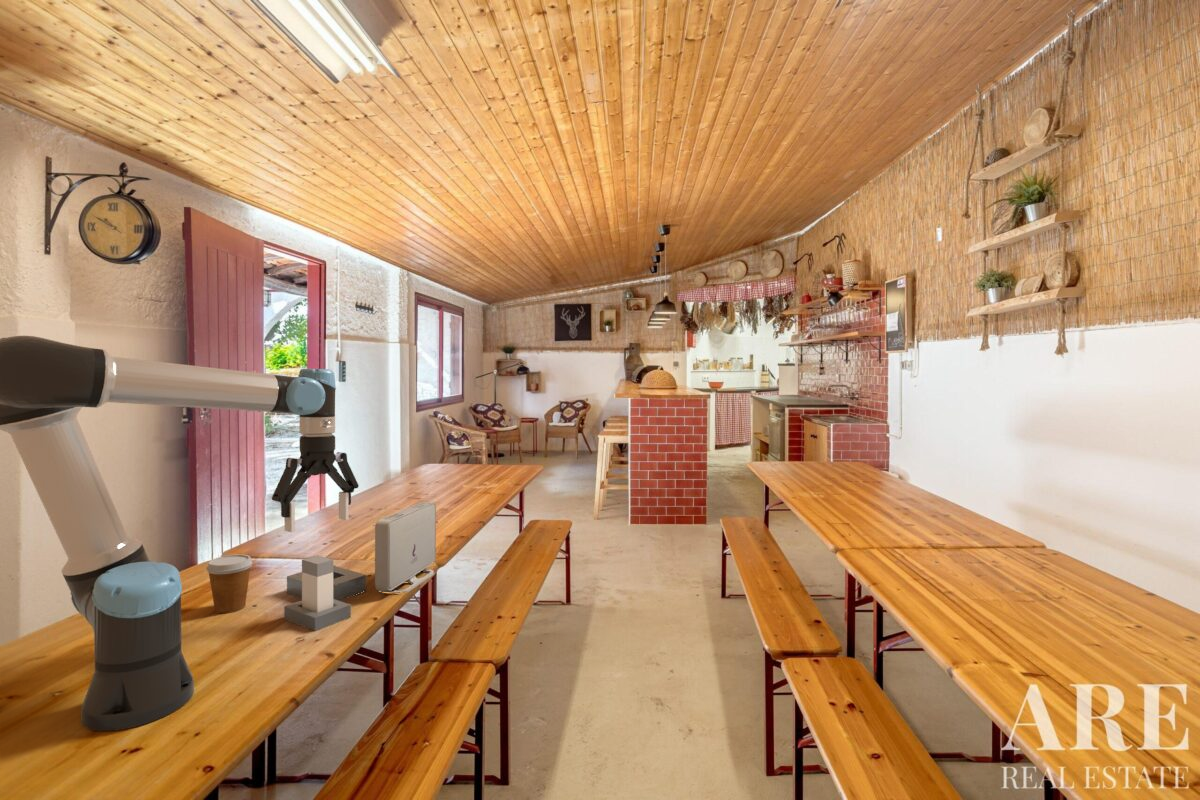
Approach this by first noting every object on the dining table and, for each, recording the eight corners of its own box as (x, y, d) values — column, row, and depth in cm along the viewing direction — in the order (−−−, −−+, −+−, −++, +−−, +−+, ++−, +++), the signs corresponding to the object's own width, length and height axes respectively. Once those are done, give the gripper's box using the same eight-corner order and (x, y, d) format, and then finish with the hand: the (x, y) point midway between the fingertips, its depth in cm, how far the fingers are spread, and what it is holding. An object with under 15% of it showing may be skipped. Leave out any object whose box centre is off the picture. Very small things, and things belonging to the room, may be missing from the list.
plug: (317, 624, 133) (317, 564, 132) (302, 618, 136) (301, 559, 135) (333, 618, 136) (333, 559, 136) (317, 612, 139) (317, 555, 139)
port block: (324, 606, 143) (324, 587, 143) (286, 593, 151) (286, 575, 151) (365, 591, 153) (365, 573, 153) (328, 579, 161) (328, 563, 161)
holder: (315, 631, 129) (315, 617, 129) (284, 618, 135) (284, 606, 135) (350, 617, 137) (350, 604, 137) (319, 606, 143) (319, 594, 143)
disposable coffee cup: (258, 608, 141) (258, 559, 141) (212, 619, 134) (212, 568, 134) (246, 597, 148) (245, 551, 147) (202, 608, 141) (201, 559, 140)
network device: (395, 600, 148) (396, 523, 147) (365, 597, 149) (365, 520, 149) (442, 568, 173) (442, 502, 172) (415, 566, 174) (416, 500, 174)
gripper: (273, 440, 122) (274, 539, 123) (373, 431, 143) (373, 516, 144) (253, 437, 126) (254, 534, 126) (354, 430, 147) (354, 512, 148)
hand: (317, 524), depth 135 cm, fingers open, 13 cm apart
